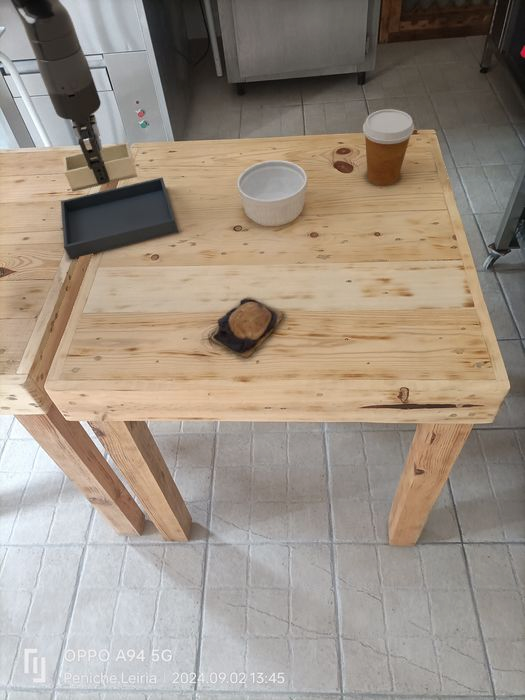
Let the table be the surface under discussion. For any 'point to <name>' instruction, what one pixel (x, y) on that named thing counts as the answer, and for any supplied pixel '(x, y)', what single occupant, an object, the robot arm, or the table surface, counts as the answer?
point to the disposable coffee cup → (386, 144)
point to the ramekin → (273, 192)
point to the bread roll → (246, 327)
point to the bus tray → (116, 218)
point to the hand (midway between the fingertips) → (102, 173)
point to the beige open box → (114, 160)
